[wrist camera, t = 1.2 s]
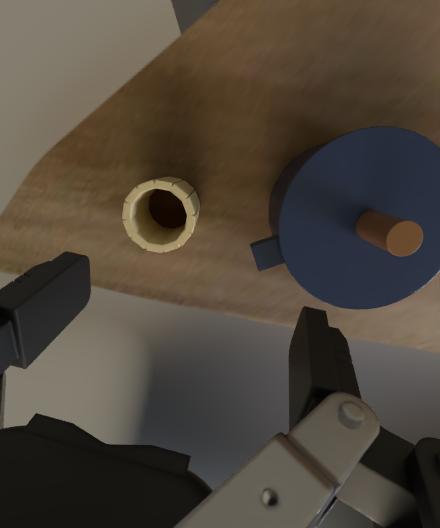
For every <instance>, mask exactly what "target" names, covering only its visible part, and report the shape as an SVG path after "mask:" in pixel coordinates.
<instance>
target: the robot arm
mask: <svg viewBox="0 0 440 528" xmlns="http://www.w3.org/2000/svg"><path fill="white" fill-rule="evenodd" d="M90 293H91V285H90V264H89V258H88V257H87V256H85V255H80V254H76V253H72V252H64V253H62V254H61V255H59V256H58V257H57V258H55V259H54V260H52V261H48V262H45V263H42V264H39V265H36V266H34V267H33V268H31V269H30V270H28V271H27V272H25V273H24V275H21V276H19V277H18V278H16V279H15V281H14V282H13V281H12V282H10V283H9V284H8V285H6V286H5V287H3V288H2V289H0V528H318V526H319V525H320V523H321V522H322V521H323V519H324V518H325V517H326V515H327V513H328V512H329V511H330V510H331V508H332V507H333V505H334V504H335V503H336V501H337V500H338V499H340V500H341V501H343V502H344V503H346V504H348V505H349V506H351V507H352V508H354V509H355V510H357V511H359V512H360V513H362V514H363V515H365V516H367V517H368V518H370V519H371V520H373V526H374V528H440V439H436V438H430V437H428V438H423V439H421V440H420V441H418V443H417V444H416V445H413V444H412V443H410V442H408V441H406V440H404V439H402V438H400V437H398V436H396V435H394V434H393V433H391V432H389V431H387V430H385V429H384V428H383V427H381V426H380V424H379V420H378V418H377V416H376V414H375V412H374V411H373V410H372V409H371V408H370V407H369V405H367V404H366V403H365V402H364V401H362V399H361V396H360V391H359V387H358V383H357V379H356V375H355V371H354V367H353V364H352V360H351V356H350V354H349V353H350V351H349V347H348V343H347V340H346V338H345V337H344V336H343V334H342V333H341V332H340V330H339V329H338V328H333V327H329V325H328V320H327V315H326V311H323V310H319V309H314V308H310V307H306V306H304V307H303V308H302V310H301V313H300V316H299V319H298V322H297V325H296V328H295V331H294V334H293V337H292V340H291V344H290V349H289V433H288V434H287V435H284V434H283V433H282V432H280V433H278V434H276V435H275V436H274V437H272V438H271V439H270V440H269V441H268V442H267V443H266V444H265V445H264V446H263V447H262V448H260V449H259V450H258V451H257V452H256V453H255V454H254V455H253V456H251V457H250V458H249V459H248V460H247V461H246V462H245V463H244V464H243V465H242V466H240V467H239V469H237V470H236V471H235V472H234V473H233V474H232V475H231V476H230V477H229V478H227V479H226V480H225V481H224V482H223V483H222V484H221V485H220V486H218V487H217V488H216V489H215V490H214V491H213V490H212V489H211V488H210V487H209V486H208V485H207V484H206V482H205V481H203V480H202V479H201V478H200V477H198V476H197V475H196V474H195V473H193V472H192V471H190V470H188V468H189V462H190V457H191V456H189V455H185V454H182V453H178V452H175V451H171V450H167V449H164V448H160V447H157V446H153V445H110V444H105V443H103V442H101V441H100V440H98V439H97V438H95V437H93V436H92V435H90V434H89V433H87V432H86V431H84V430H82V429H81V428H79V427H78V426H76V425H75V424H73V423H69V422H66V421H62V420H59V419H55V418H51V417H48V416H44V415H41V414H37V413H36V414H35V415H34V417H33V418H32V419H31V420H30V421H29V423H28V424H27V425H26V426H15V427H9V428H5V429H3V422H4V403H5V386H6V384H5V383H6V375H5V370H6V369H7V368H8V367H9V366H10V365H12V366H16V367H20V368H23V369H26V368H27V367H28V366H29V365H30V364H31V363H32V362H33V361H34V360H35V359H36V358H37V357H38V356H39V355H40V354H41V353H42V351H44V350H45V348H46V347H47V346H48V345H49V344H50V343H51V342H52V341H53V340H54V339H55V338H56V337H57V336H58V335H59V334H60V333H61V332H62V331H63V330H64V328H65V327H66V326H67V325H68V324H69V323H70V322H71V321H72V320H73V319H74V318H75V317H76V316H77V315H78V314H79V313H80V312H81V311H82V309H84V307H85V306H86V305H87V303H88V301H89V298H90Z"/></svg>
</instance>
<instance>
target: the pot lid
mask: <svg viewBox="0 0 440 528" xmlns="http://www.w3.org/2000/svg"><path fill="white" fill-rule="evenodd" d="M278 239H279V246H280V250H281V254H282V257H283V259H284V262H285V264H286V266H287V268H288V270H289V271H290V273H291V275H292V276H293V277H294V279H295V280H296V281H297V283H298V284H299V285H300V286H301V287H302V288H303V289H304V290H306V291H307V292H308V293H310V294H311V295H312V296H314V297H315V298H317V299H319V300H321V301H323V302H325V303H328V304H330V305H333V306H337V307H341V308H347V309H372V308H378V307H382V306H387V305H390V304H392V303H395V302H398V301H400V300H402V299H404V298H406V297H408V296H410V295H412V294H413V293H415V292H416V291H418V290H419V289H421V288H422V287H423V286H424V285H426V284H427V283H428V282H429V281H430V280H431V279H432V278H433V277H434V276H435V275H436V274H437V273H438V272H439V271H440V148H439V147H438V146H437V145H436V144H435V143H433V142H432V141H430V140H429V139H427V138H426V137H424V136H422V135H420V134H418V133H416V132H413V131H410V130H406V129H403V128H396V127H370V128H364V129H360V130H356V131H353V132H349V133H347V134H344V135H342V136H340V137H337V138H335V139H334V140H332V141H330V142H329V143H327V144H325V145H324V146H322V147H321V148H320V149H319V150H317V151H316V152H315V153H313V154H312V155H311V156H310V157H309V158H308V159H307V160H306V161H305V162H304V164H303V165H302V166H301V167H300V169H299V170H298V171H297V172H296V174H295V175H294V177H293V179H292V180H291V182H290V184H289V186H288V188H287V190H286V192H285V195H284V197H283V200H282V204H281V207H280V212H279V218H278Z"/></svg>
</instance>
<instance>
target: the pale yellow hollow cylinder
mask: <svg viewBox="0 0 440 528" xmlns="http://www.w3.org/2000/svg"><path fill="white" fill-rule="evenodd" d="M156 189H162V190H167V191H171V192H172V193H173V194H174V195H175V196H176V197H178V198H179V199H180V200H181V201H182V203H183V206H184V208H185V211H186V214H187V219H186V224H185V225H184V226H181V227H178V228H175V229H171V228H166V227H162V226H161V225H160V224H158V223H157V222H156V221H155V220H153V218H152V215H151V213H150V210H149V201H150V196H151V195H152V194H153V192H154V191H155V190H156ZM193 190H194V188H193V187H192V186H190V185H189V184H188V183H187V182H186V181H185V180H183V181H182V179H180V178H175V177H170V176H169V177H162V178H157V179H153V180H150V181H147V182H144V183H141V184H139V185H137V186H136V187H134V188H133V190H132V191H131V192H130V193H129V195H128V196H127V197H126V199H125V201H126V202H124V205H123V214H122V219H125V220H123V221H122V222H123V224H124V226H125V228H126V231H127V233H128V235H129V237H130V236H132V237H131V239H132V240H133V241H134V242H136V243H137V244H138V245H139V246H141V247H142V248H143V249H144V248H145V247H146V250H149V251H155V252H160V253H162V252H163V251H164V252H168V251H171V250H174V249H177V248H179V247H180V246H182V245H183V244H184V243H185V241H186V240H187V239H188V238H189V237H190V236H191V234H192V232H193V230H194V227H195V225H196V222H197V220H198V217H199V211H200V201H199V199H198V196H197V193H196V191H193Z"/></svg>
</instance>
